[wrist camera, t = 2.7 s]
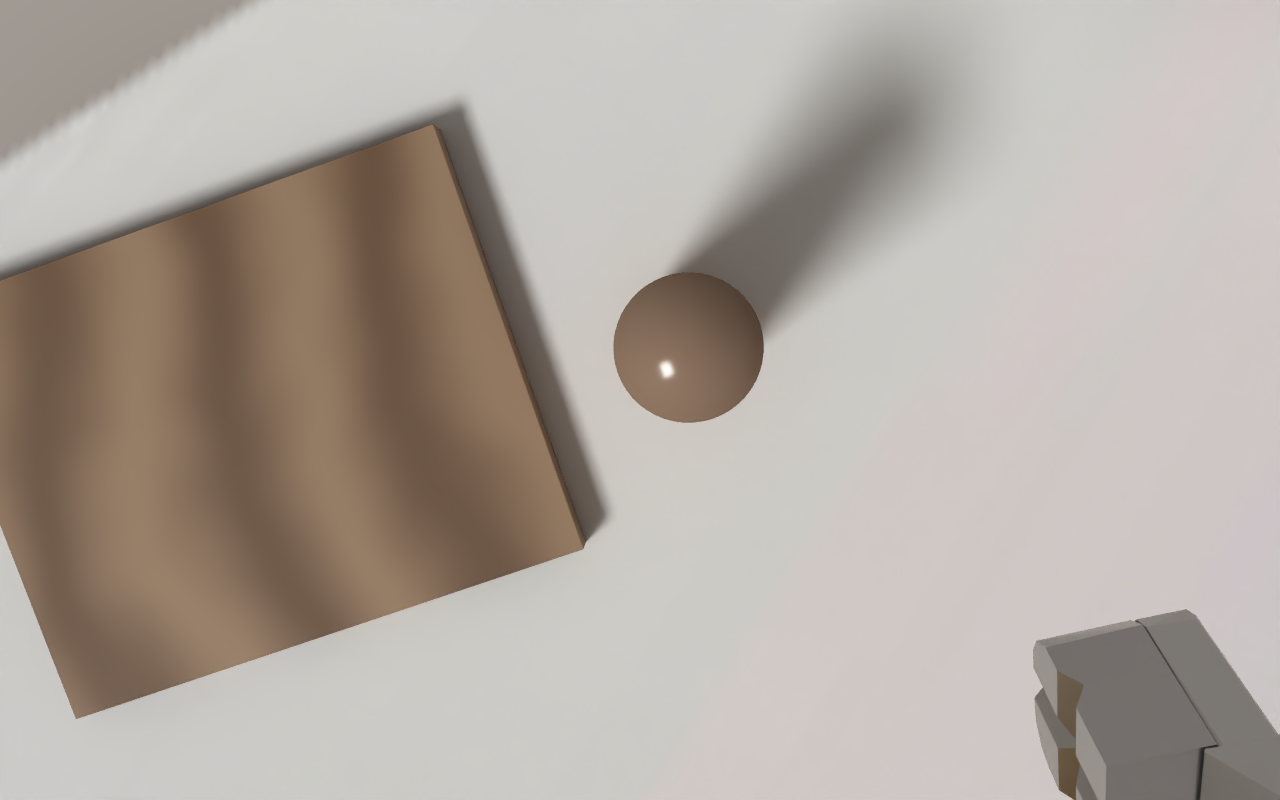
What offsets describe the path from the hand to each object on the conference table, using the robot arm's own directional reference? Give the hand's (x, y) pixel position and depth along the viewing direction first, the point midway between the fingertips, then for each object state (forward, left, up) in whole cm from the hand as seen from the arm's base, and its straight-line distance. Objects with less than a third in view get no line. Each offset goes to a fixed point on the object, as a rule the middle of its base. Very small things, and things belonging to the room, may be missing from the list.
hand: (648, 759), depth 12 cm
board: (+14, -5, -31) cm, 35 cm away
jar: (-2, -3, -31) cm, 31 cm away
